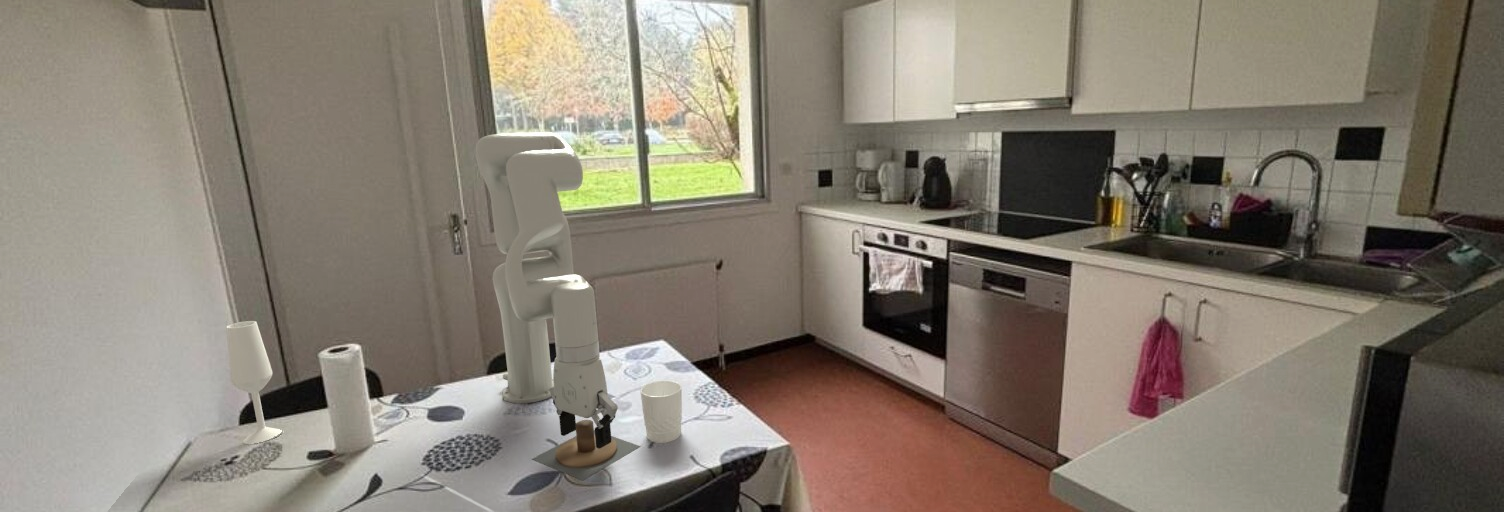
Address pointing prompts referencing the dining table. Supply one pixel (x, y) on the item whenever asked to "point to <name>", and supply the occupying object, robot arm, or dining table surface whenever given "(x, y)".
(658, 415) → the white cup
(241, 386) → the champagne flute
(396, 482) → the dining table surface
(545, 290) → the robot arm
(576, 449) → the lid
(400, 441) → the dining table surface
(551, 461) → the mat
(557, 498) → the dining table surface
